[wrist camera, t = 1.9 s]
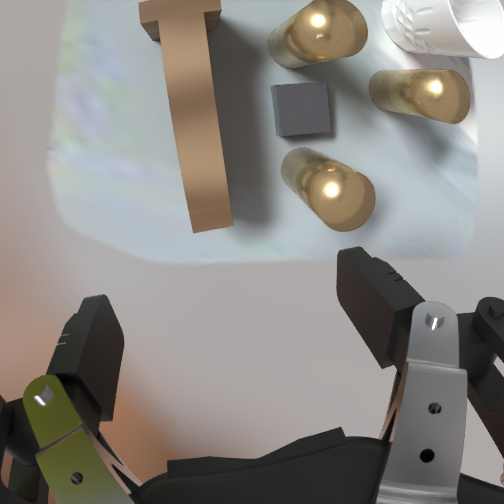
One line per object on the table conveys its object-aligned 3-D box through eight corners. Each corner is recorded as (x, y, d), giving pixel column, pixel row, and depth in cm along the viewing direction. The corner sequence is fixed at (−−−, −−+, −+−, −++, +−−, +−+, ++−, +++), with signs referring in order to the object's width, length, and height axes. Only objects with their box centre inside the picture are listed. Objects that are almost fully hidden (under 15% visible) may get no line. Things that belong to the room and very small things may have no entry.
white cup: (433, 0, 20) (502, -11, 11) (438, 65, 23) (512, 70, 15) (370, -20, 19) (437, -49, 10) (377, 51, 22) (452, 44, 14)
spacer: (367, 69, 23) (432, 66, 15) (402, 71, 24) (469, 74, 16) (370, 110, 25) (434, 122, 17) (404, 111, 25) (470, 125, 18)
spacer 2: (279, 150, 26) (317, 175, 18) (323, 145, 26) (376, 168, 18) (283, 194, 28) (320, 236, 20) (325, 188, 28) (374, 226, 20)
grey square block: (269, 86, 23) (275, 85, 22) (317, 83, 24) (326, 82, 22) (275, 133, 25) (281, 136, 24) (321, 129, 26) (330, 131, 24)
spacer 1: (264, 25, 20) (299, -6, 13) (311, 25, 21) (363, 0, 13) (270, 69, 22) (308, 56, 14) (316, 67, 23) (371, 59, 15)
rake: (237, 196, 27) (249, 223, 22) (180, 207, 27) (177, 236, 21) (213, 12, 19) (218, -11, 14) (150, 23, 19) (138, 2, 14)
